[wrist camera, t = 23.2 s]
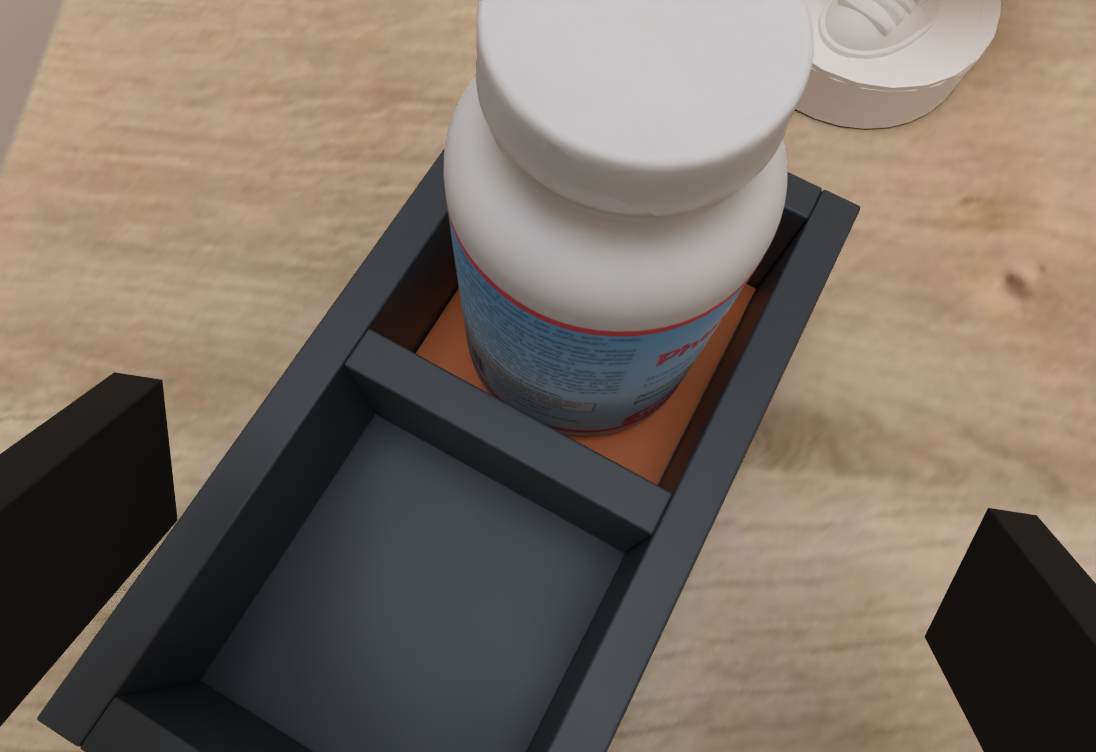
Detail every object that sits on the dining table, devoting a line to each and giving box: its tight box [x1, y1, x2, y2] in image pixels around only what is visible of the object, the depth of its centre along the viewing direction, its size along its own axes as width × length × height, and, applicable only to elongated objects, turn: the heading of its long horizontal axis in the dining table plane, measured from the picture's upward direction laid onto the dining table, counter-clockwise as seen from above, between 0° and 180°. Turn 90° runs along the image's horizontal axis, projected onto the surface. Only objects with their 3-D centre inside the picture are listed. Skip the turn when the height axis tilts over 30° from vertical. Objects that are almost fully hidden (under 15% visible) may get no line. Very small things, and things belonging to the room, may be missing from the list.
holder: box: [37, 150, 860, 752], centre depth 18 cm, size 10×18×5 cm, turn 151°
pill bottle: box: [443, 0, 814, 436], centre depth 15 cm, size 6×6×11 cm
